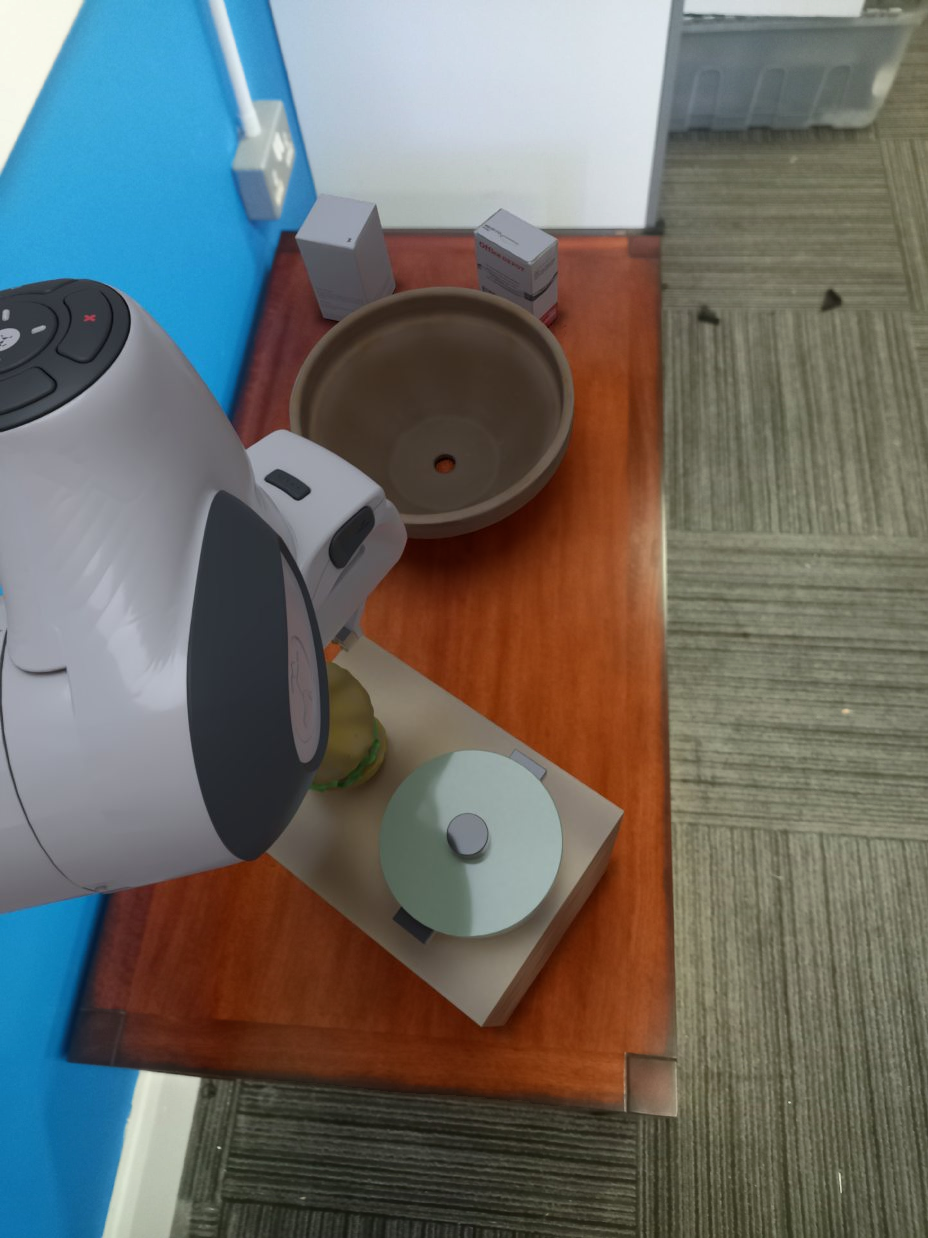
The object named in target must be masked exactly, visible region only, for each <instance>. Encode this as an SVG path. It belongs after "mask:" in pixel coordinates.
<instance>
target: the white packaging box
mask: <svg viewBox="0 0 928 1238" xmlns="http://www.w3.org/2000/svg"><path fill="white" fill-rule="evenodd" d="M384 235H385V234H384V231H383V227H382V223H381V218H380V214H379V209H378V206H377V203H376V202H371V201H365V200H360V199H354V198H348V197H342V196H338V195H333V194H328V193H327V194H326V193H320V194H319V195H318V197H317V199H316V201H315V202H314V204H313V206H312V208H311V209H310V211H309V213H308V214H307V216H306V218H305V219H304V221H303V223H302V224H301V226H300V228H299V230H298V231H297V233H296V235H295V236H294V239H295V241H296V244H297V247H298V249H299V253H300V256H301V258H302V261H303V264H304V267H305V269H306V272H307V273H306V274H307V275H308V278H309V281H310V285H311V287H312V289H313V293H314V296H315V298H316V302H317V304H318V307H319V310H320V312H321V315H322V318H323V319H326V320H331V321H337V322H340V321H341V320H343V319H344V318H345V317H347V316H348V315H350V314H351V313H353V312H355V311H356V310H358V309H360V308H362V307H364V306H365V305H367V304H370V303H372V302H374V301H376V300H379V299H381V298H384V297H387V296H390V295H393V294H394V291H395V290H396V287H397V286H396V281H395V278H394V274H393V269H392V265H391V261H390V255H389V252H388V247H387V243H386V239H385V236H384Z"/></svg>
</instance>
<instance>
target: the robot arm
mask: <svg viewBox="0 0 928 1238" xmlns="http://www.w3.org/2000/svg"><path fill="white" fill-rule="evenodd" d="M407 540H408V538H407V532H406V528H405V525H404V523H403V520H402V518H401V516H400V514H399V512H398V510H397V508H396V507H395V505H394V504H393V503H392V502H391V501H389V500H388V499H386V496H385V493H384V490H383V488H382V487H381V486H379V485H378V484H377V483H376V482H374V481H373V480H372V479H371V478H369V477H368V476H367V475H365V474H364V473H363V472H361V471H360V470H359V469H357V468H356V467H354V466H353V465H352V464H350V463H349V462H347V461H346V460H344V459H342V458H341V457H339V456H338V455H336V454H334V453H333V452H331V451H329V450H327V449H325V448H324V447H322V446H320V445H318V444H316V443H314V442H312V441H310V440H308V439H306V438H304V437H301V436H299V435H297V434H294V433H292V432H291V430H287V429H283V428H282V429H281V428H280V429H277V430H275V431H272V432H271V433H269V434H268V435H266V436H264V437H263V438H261V439H260V440H259V441H257V442H255V443H254V444H252V445H251V446H249V447H248V448H246V447H245V445H244V444H243V442H242V440H241V438H240V436H239V435H238V433H237V431H236V430H235V428H234V426H233V425H232V423H231V421H230V419H229V417H228V416H227V415H226V413H225V411H224V410H223V407H222V405H220V403H219V401H218V400H217V399H216V396H214V394H213V392H212V391H211V389H210V388H209V386H208V385H207V383H206V381H204V379H203V378H202V376H201V375H200V373H199V372H198V371H197V369H196V368H195V366H194V365H193V363H191V361H190V360H189V358H188V356H187V355H185V353H184V352H183V350H182V349H181V348H180V347H179V345H178V344H177V343H176V342H175V340H174V339H173V338H172V337H171V335H170V334H169V333H168V332H167V331H166V330H165V328H163V326H162V325H161V324H160V323H159V322H158V321H157V320H156V319H155V318H154V316H152V314H151V313H150V312H149V311H147V310H146V309H145V308H144V307H143V306H142V305H141V304H140V303H139V302H137V300H135V299H134V298H133V297H131V296H130V295H128V293H126V292H124V291H123V290H122V289H119V288H117V287H115V286H113V285H110V284H109V283H105V282H103V281H98V280H94V279H90V278H71V277H65V278H64V277H63V278H54V279H48V280H42V281H41V280H40V281H35V282H32V283H26V284H21V285H18V286H13V287H9V288H6V289H2V290H0V588H1V592H2V594H0V916H2V915H6V914H11V913H16V912H20V911H25V910H30V909H33V908H39V907H42V906H47V905H52V904H56V903H60V902H61V903H62V902H65V901H70V900H74V899H79V898H83V897H84V898H85V897H88V896H93V895H97V894H101V895H107V894H108V895H110V894H113V893H117V892H118V893H119V892H122V891H123V892H124V891H126V890H127V891H128V890H131V889H136V888H139V887H140V888H141V887H145V886H149V885H153V884H157V883H163V882H166V881H171V880H176V879H179V878H184V877H188V876H192V875H196V874H201V873H205V872H208V871H209V872H210V871H213V870H216V869H221V868H226V867H229V866H231V865H232V866H233V865H236V864H239V863H242V862H253V861H256V860H258V859H260V858H261V856H263V855H264V854H265V853H266V851H267V850H268V849H269V848H270V847H271V846H272V845H273V843H274V842H275V841H276V840H277V839H278V838H279V837H280V835H281V834H282V833H283V831H284V830H285V829H286V827H287V826H288V825H289V823H290V822H291V820H292V819H293V817H294V815H295V814H296V812H297V810H298V809H299V807H300V805H301V803H302V801H303V799H304V797H305V795H306V794H307V792H308V790H309V788H310V786H311V784H312V782H313V780H314V778H315V776H316V773H317V771H318V769H319V767H320V765H321V763H322V760H323V758H324V755H325V752H326V748H327V743H328V737H329V725H330V706H329V688H328V677H327V668H326V662H327V661H326V656H325V651H324V650H325V649H326V648H327V646H329V644H330V643H332V644H334V645H336V646H337V645H338V646H339V647H340V649H341V650H342V649H343V650H344V651H346V652H349V650H350V649H351V648H352V647H353V646H354V644H355V643H356V642H357V641H358V640H359V639H360V638H361V636H362V635H364V634H365V632H364V631H363V628H362V626H361V621H362V617H363V614H364V611H365V608H366V604H367V600H368V597H370V595H371V594H372V593H373V592H374V590H376V588H377V587H378V585H379V584H380V583H381V582H382V581H383V579H384V578H385V577H386V576H387V575H388V574H389V573H390V571H391V570H392V569H393V567H394V566H395V565H396V564H397V563H398V562H399V560H400V559H401V557H402V555H403V553H404V550H405V547H406V544H407Z"/></svg>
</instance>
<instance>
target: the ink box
mask: <svg viewBox="0 0 928 1238" xmlns="http://www.w3.org/2000/svg"><path fill="white" fill-rule="evenodd" d="M473 236H474V237H473V239H474V250H475V259H476V268H477V269H476V270H477V280H478V290H480V291H483V292H487V293H490V294H493V295H496V296H500V297H502V298H505V299H507V300H509V301H511V302H513V303H515V304H517V305H519V306H521V307H522V308H524V309H525V310H527V311H528V312H530V313H531V314H533V315H534V316H535V317H536V318H538V319H539V320H540V321H541V322H542V323H543V324H544V325H545V326H546V327H547V328H548V327H549V326H550V325H552V323H554V321H555V320H556V319H557V318H558V304H559V303H558V301H559V298H558V297H559V294H558V293H559V273H558V272H559V239H558V238H556V237H555V236H553V235H551V234H549V233H547V232H546V231H544V230H542V229H540V228H538V227H536V226H535V225H533V224H531V223H529V222H527V220H524V219H522V218H521V217H519V216H517V215H515V214H514V213H511V212H510V211H508V210H506V209H504V208H503V207H502V208H499V209H498V210H497V211H495V212H494V213H493V214H492V215H490V216H489V217H488V218H487V219H486V220H484V221H483V222H482V223H481V224H479V225H478V226H477V227H476V228H475V229H474V230H473Z"/></svg>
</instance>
